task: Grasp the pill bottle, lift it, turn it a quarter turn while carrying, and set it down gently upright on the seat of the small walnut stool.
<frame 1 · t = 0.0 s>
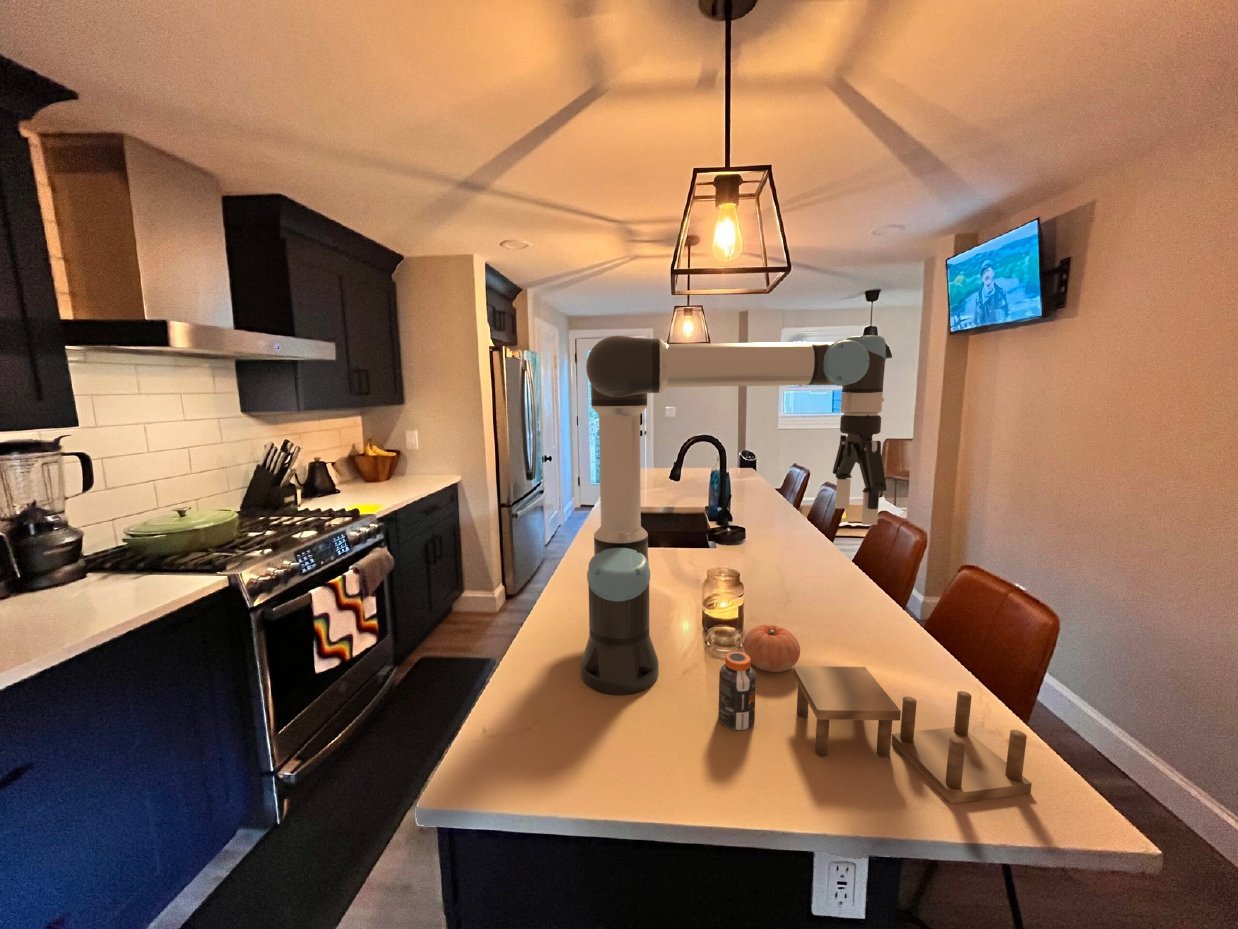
hand: (854, 515, 108), 28 cm above the counter, fingers open, 13 cm apart
pill bottle: (736, 721, 86), on the counter
mini pumpkin: (770, 666, 102), on the counter
stool: (840, 733, 82), on the counter
upturned stool: (956, 766, 75), on the counter
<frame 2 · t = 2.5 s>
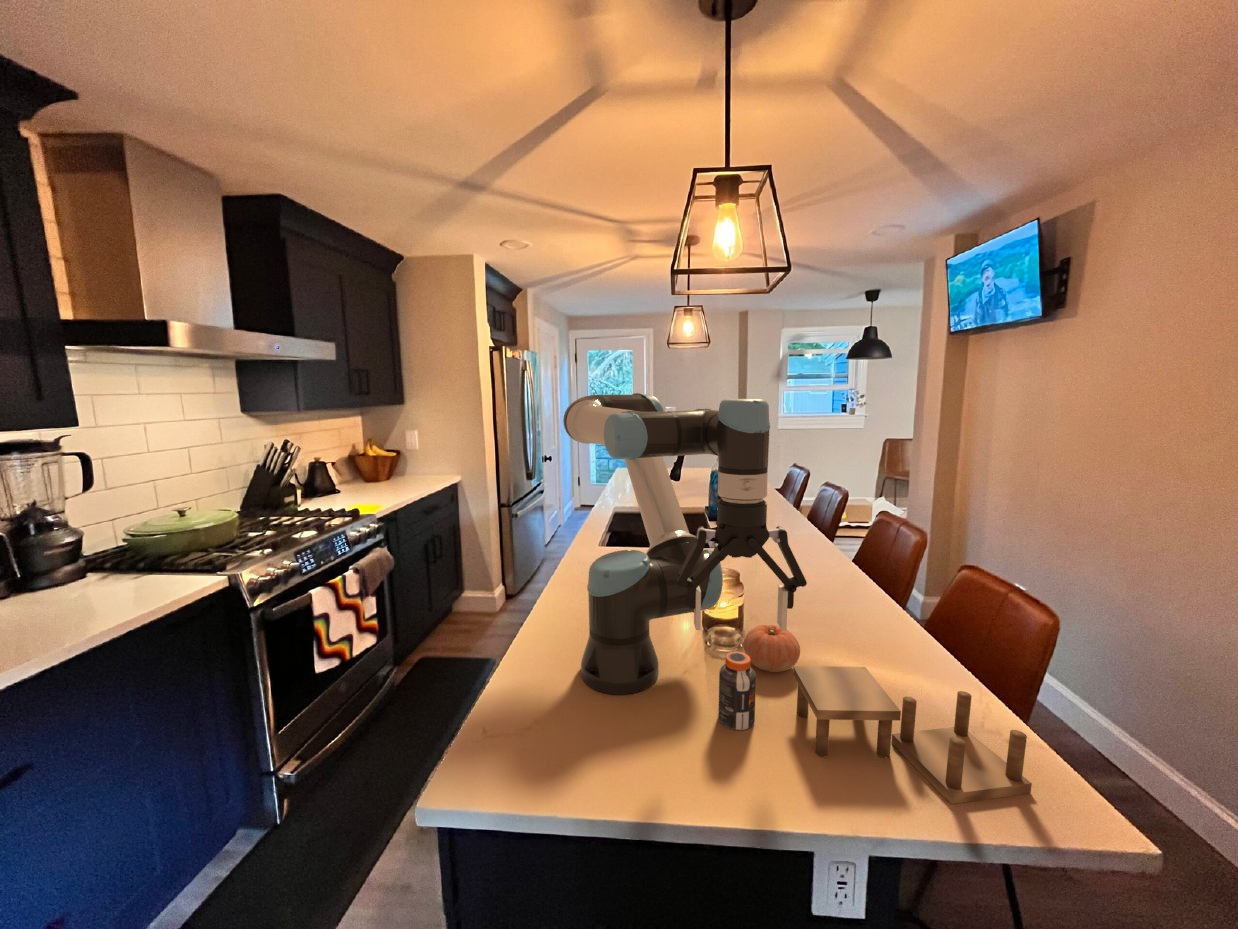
hand: (739, 626, 83), 17 cm above the counter, fingers open, 13 cm apart
nothing on the counter moved.
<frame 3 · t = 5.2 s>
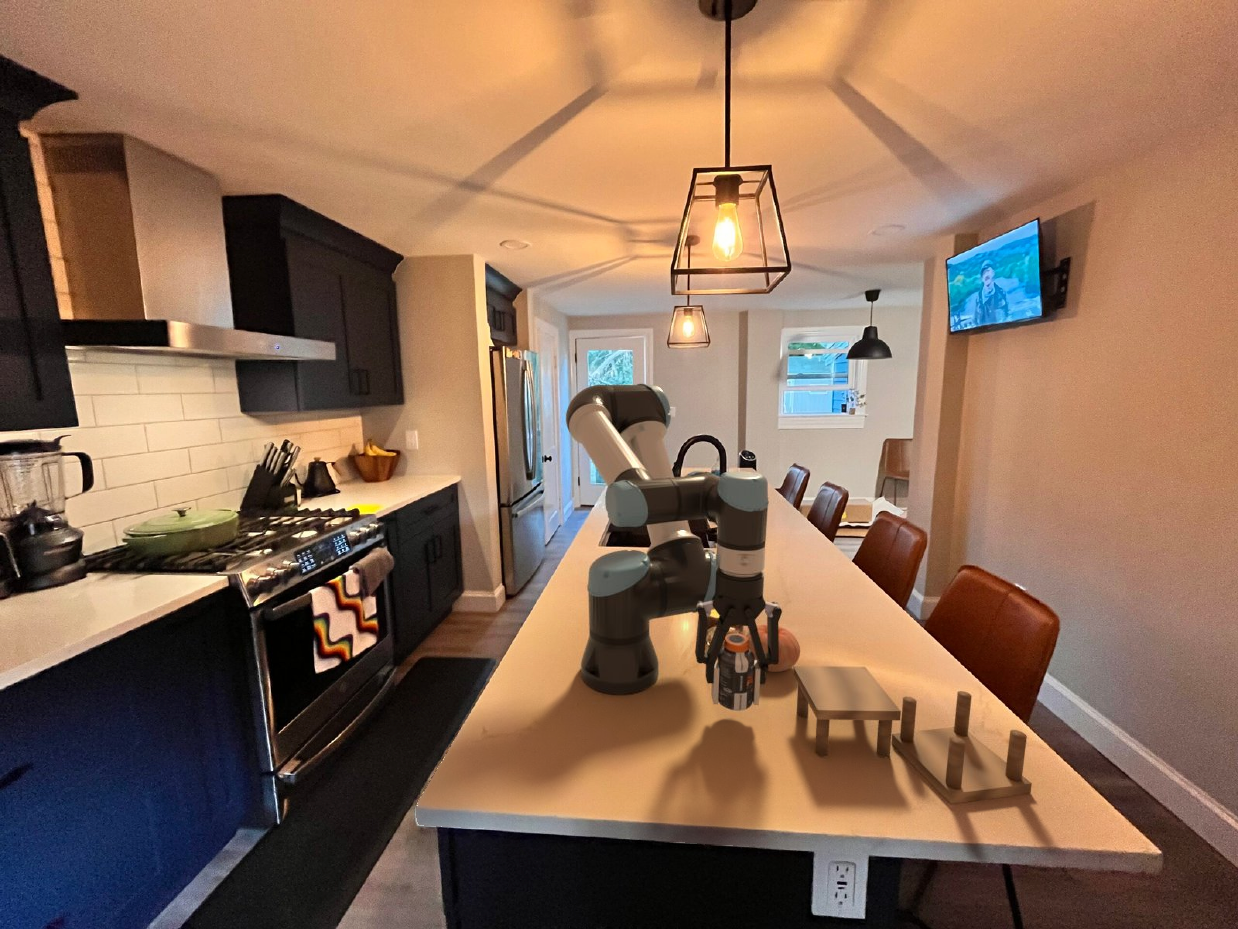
hand: (734, 699, 86), 3 cm above the counter, fingers closed on pill bottle, 6 cm apart
pill bottle: (734, 701, 86), point 3 cm above the counter, touching gripper
everything else where it was.
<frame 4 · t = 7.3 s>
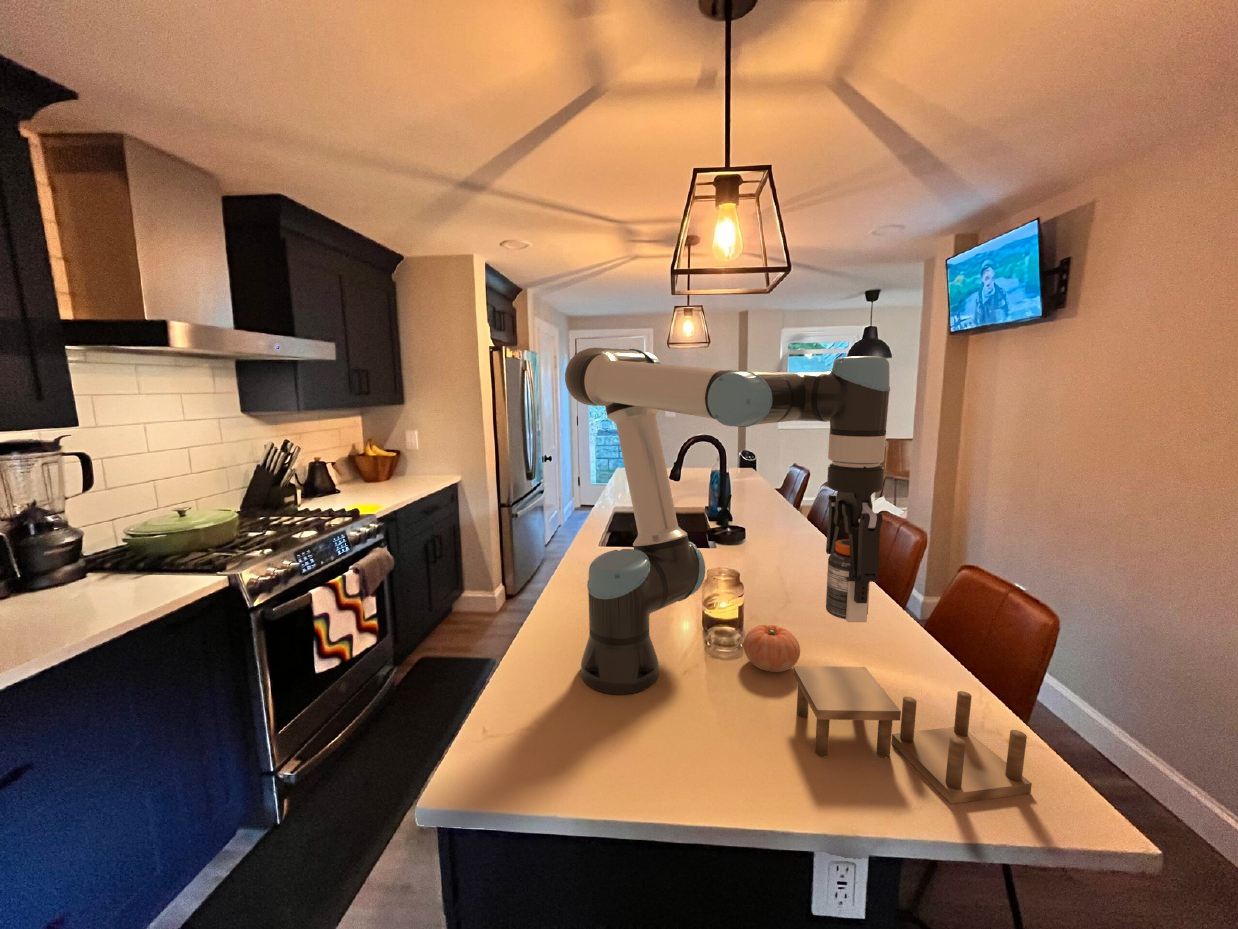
hand: (847, 611, 79), 21 cm above the counter, fingers closed on pill bottle, 6 cm apart
pill bottle: (846, 614, 79), point 20 cm above the counter, touching gripper
everything else where it was.
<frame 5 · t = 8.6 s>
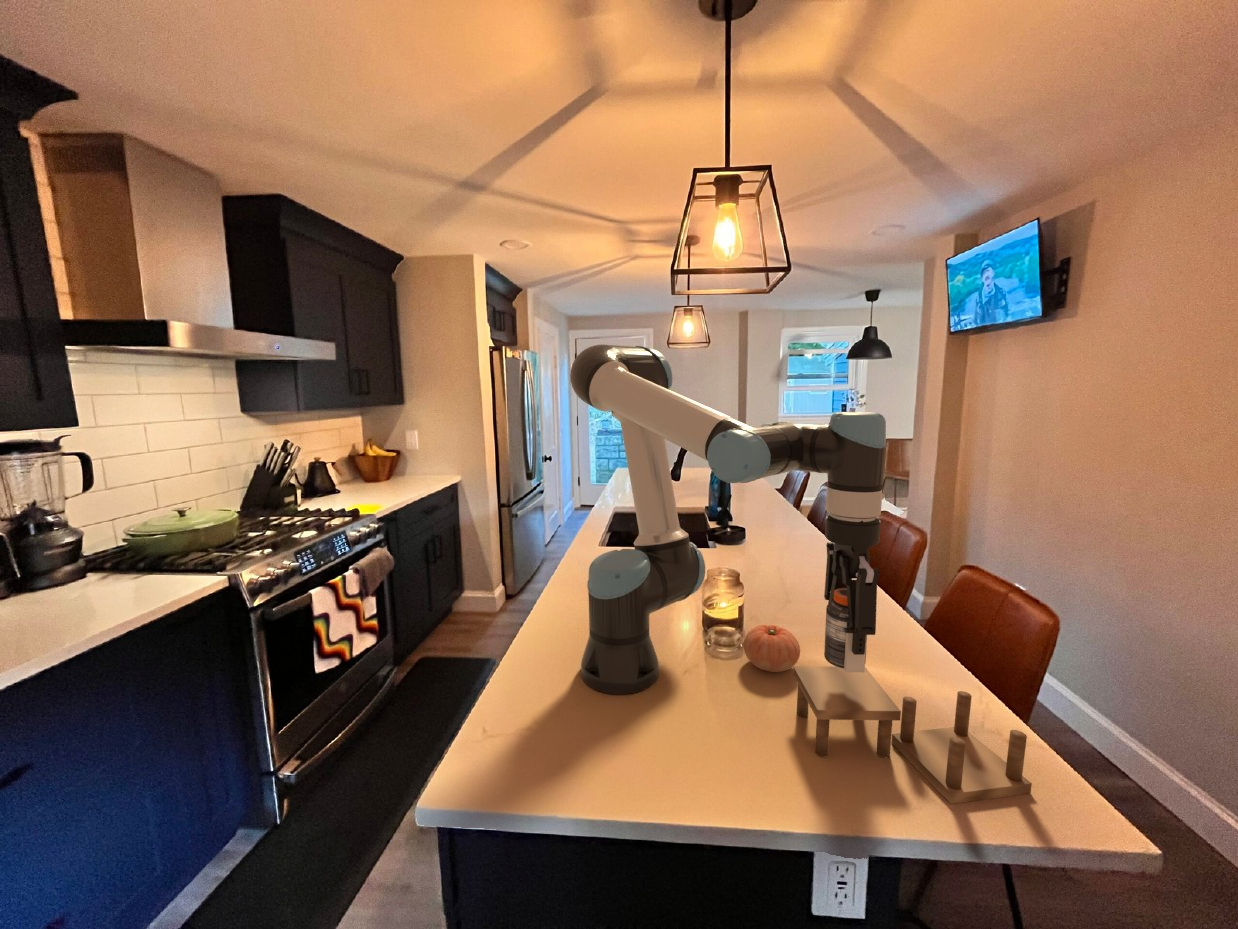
hand: (845, 659, 80), 13 cm above the counter, fingers closed on pill bottle, 6 cm apart
pill bottle: (844, 662, 80), point 12 cm above the counter, touching gripper
everything else where it was.
when the fingers open (10 cm above the counter, at t = 9.5 s): pill bottle drops 2 cm, resting on stool.
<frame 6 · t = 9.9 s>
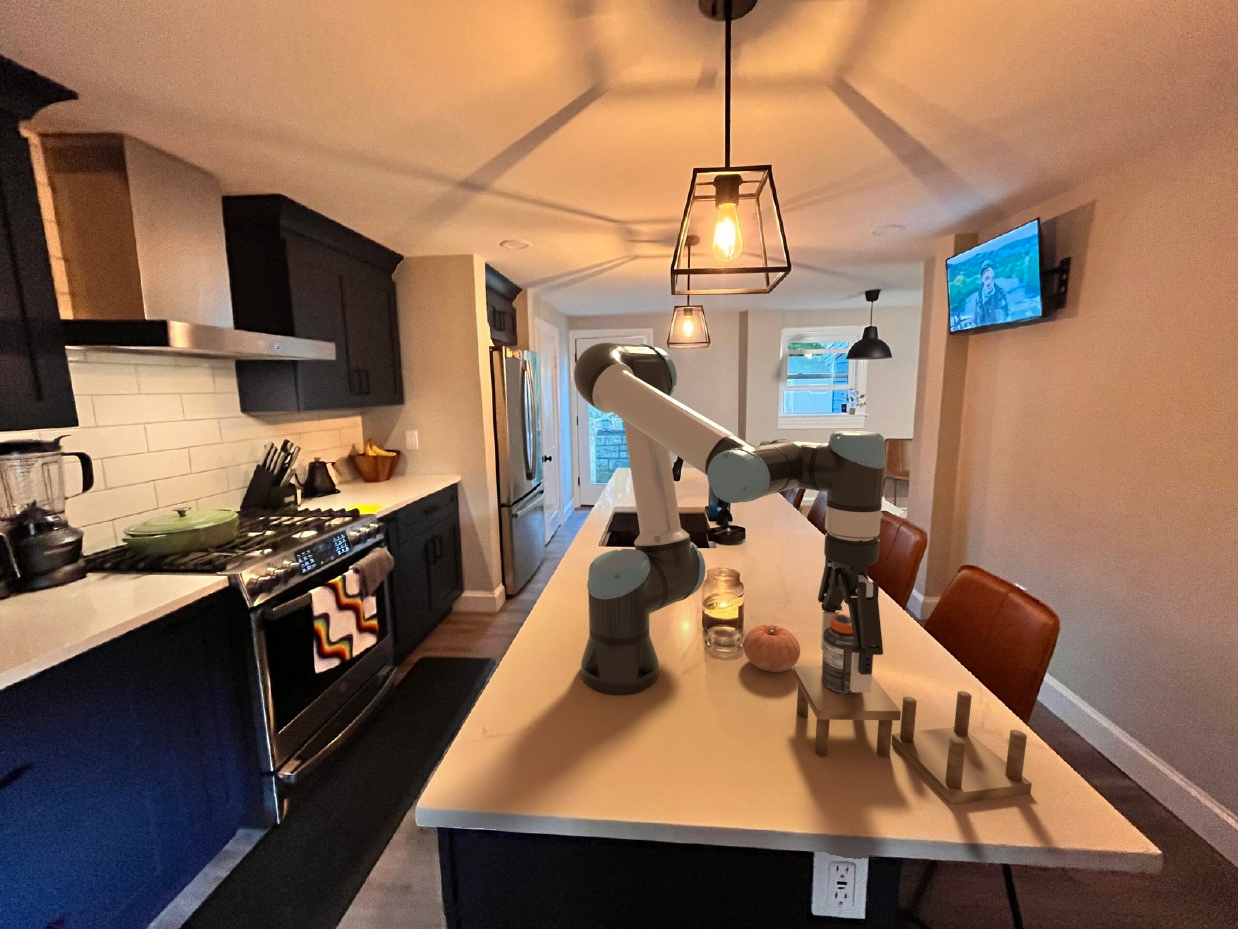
hand: (844, 668, 81), 11 cm above the counter, fingers open, 11 cm apart
pill bottle: (841, 687, 81), point 8 cm above the counter, touching stool
everything else where it was.
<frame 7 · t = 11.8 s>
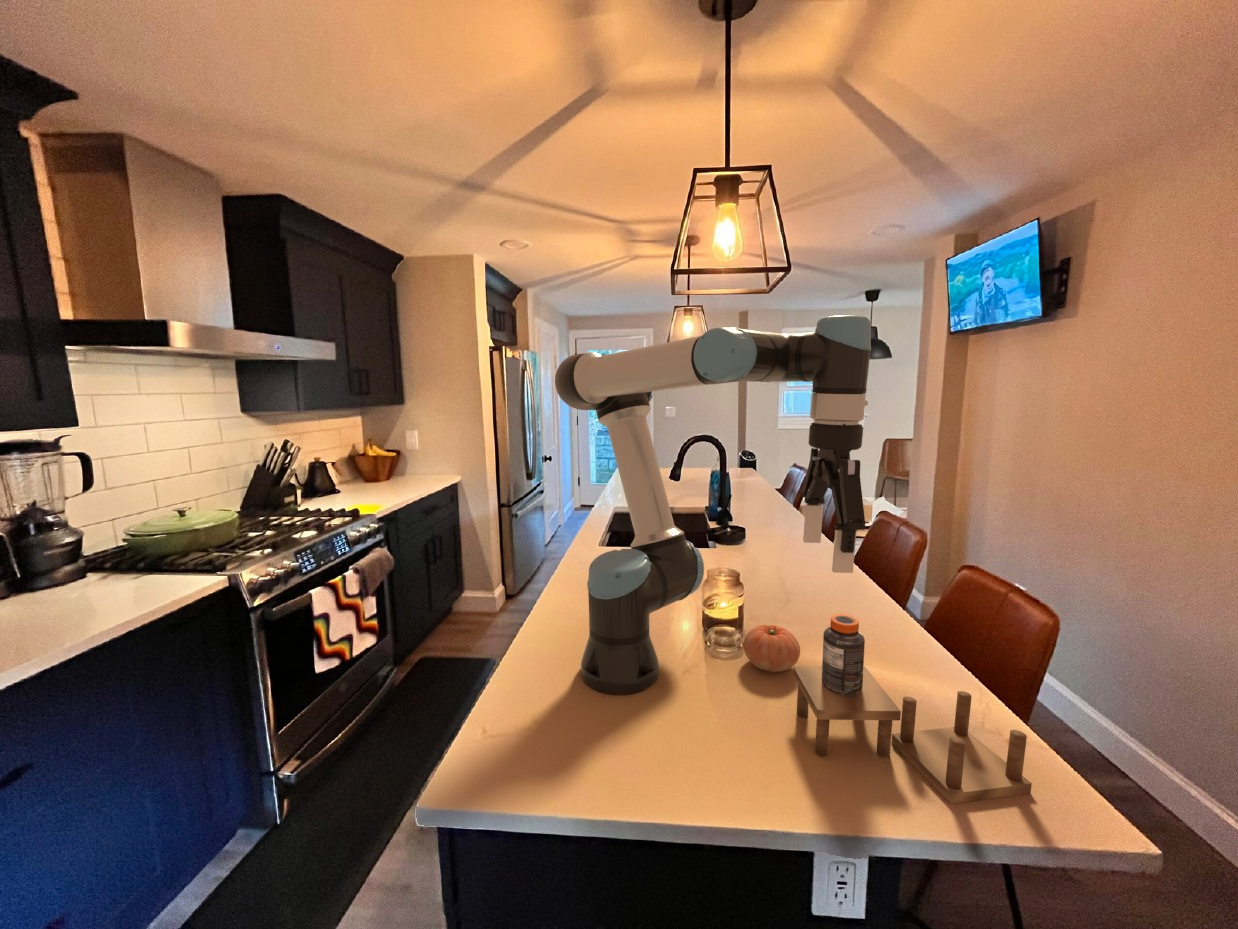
hand: (825, 556, 81), 28 cm above the counter, fingers open, 13 cm apart
nothing on the counter moved.
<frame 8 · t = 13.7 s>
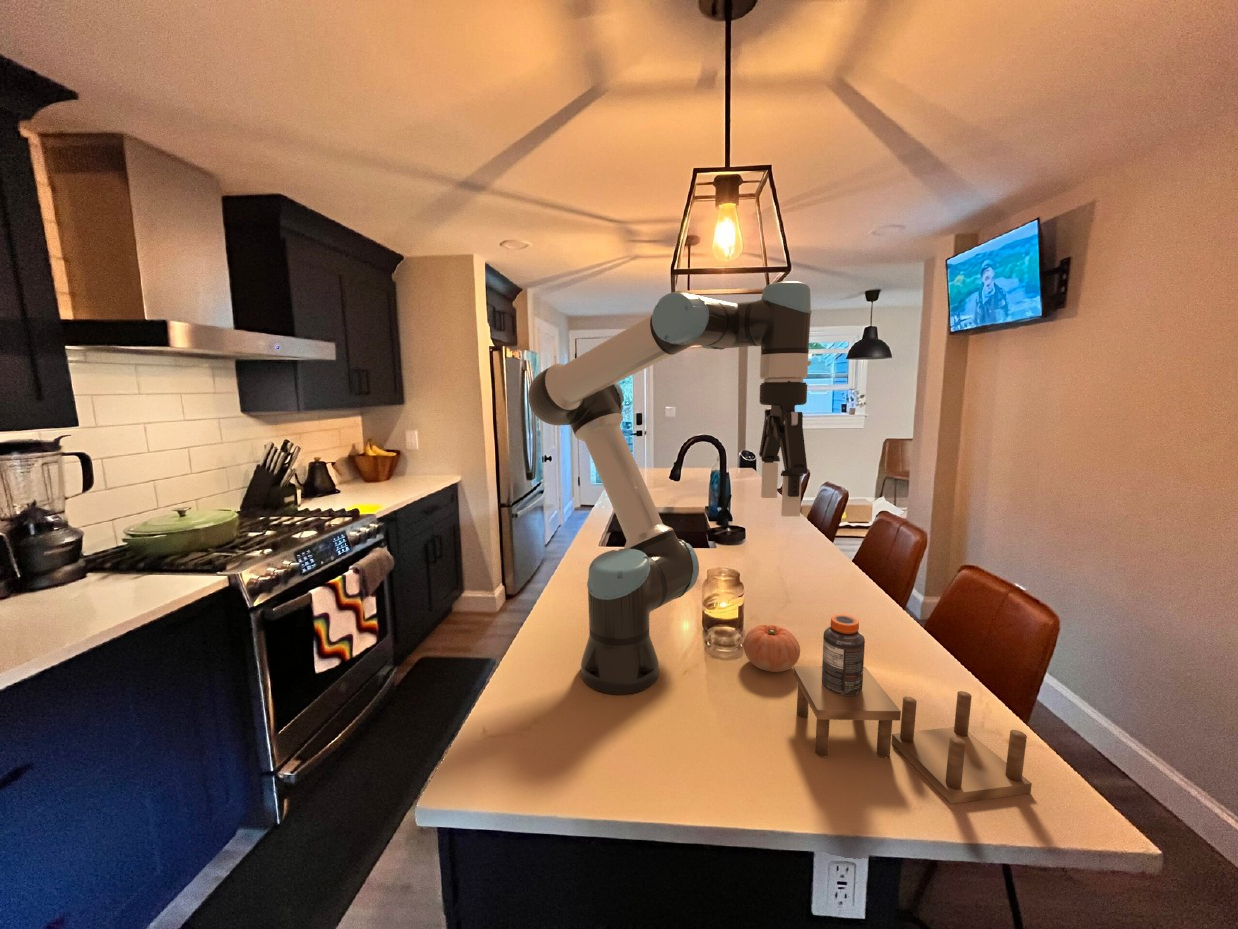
hand: (778, 506, 88), 35 cm above the counter, fingers open, 13 cm apart
nothing on the counter moved.
at the end: pill bottle inside the target area on the stool (0.3 cm from its centre), point 7.8 cm above the stool's base; pill bottle tilted 0°; the gripper is holding nothing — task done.
